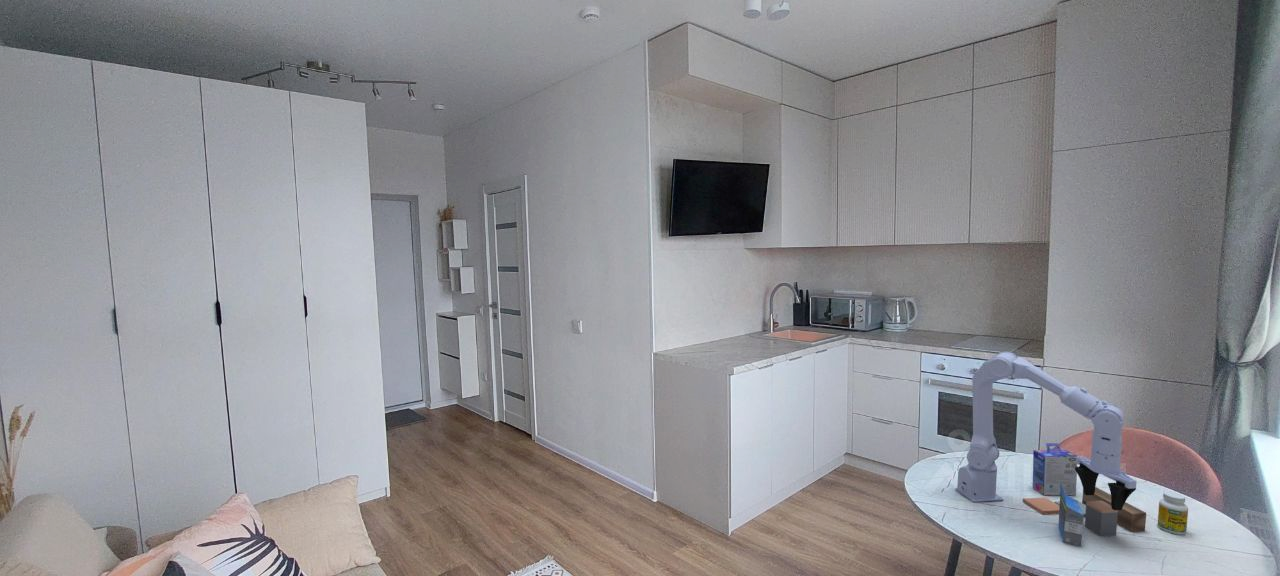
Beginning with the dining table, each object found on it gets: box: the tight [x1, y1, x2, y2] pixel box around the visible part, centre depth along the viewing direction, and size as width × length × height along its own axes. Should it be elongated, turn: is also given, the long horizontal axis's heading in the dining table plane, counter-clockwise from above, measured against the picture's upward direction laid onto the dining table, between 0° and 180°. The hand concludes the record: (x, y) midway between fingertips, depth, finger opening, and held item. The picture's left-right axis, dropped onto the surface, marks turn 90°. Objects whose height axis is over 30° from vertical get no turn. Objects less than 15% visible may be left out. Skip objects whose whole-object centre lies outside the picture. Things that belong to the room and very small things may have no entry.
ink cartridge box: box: [1032, 442, 1079, 496], centre depth 157 cm, size 10×6×14 cm, turn 89°
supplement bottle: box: [1157, 490, 1189, 535], centre depth 136 cm, size 5×5×10 cm
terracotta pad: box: [1022, 496, 1060, 515], centre depth 148 cm, size 7×7×1 cm
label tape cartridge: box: [1057, 483, 1085, 547], centre depth 134 cm, size 9×4×12 cm, turn 148°
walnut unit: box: [1081, 486, 1147, 533], centre depth 143 cm, size 4×14×5 cm, turn 4°
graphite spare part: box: [1084, 501, 1118, 537], centre depth 136 cm, size 4×4×7 cm
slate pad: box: [1053, 499, 1086, 518], centre depth 146 cm, size 7×7×1 cm
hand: (1102, 501), depth 136 cm, fingers open, 7 cm apart
